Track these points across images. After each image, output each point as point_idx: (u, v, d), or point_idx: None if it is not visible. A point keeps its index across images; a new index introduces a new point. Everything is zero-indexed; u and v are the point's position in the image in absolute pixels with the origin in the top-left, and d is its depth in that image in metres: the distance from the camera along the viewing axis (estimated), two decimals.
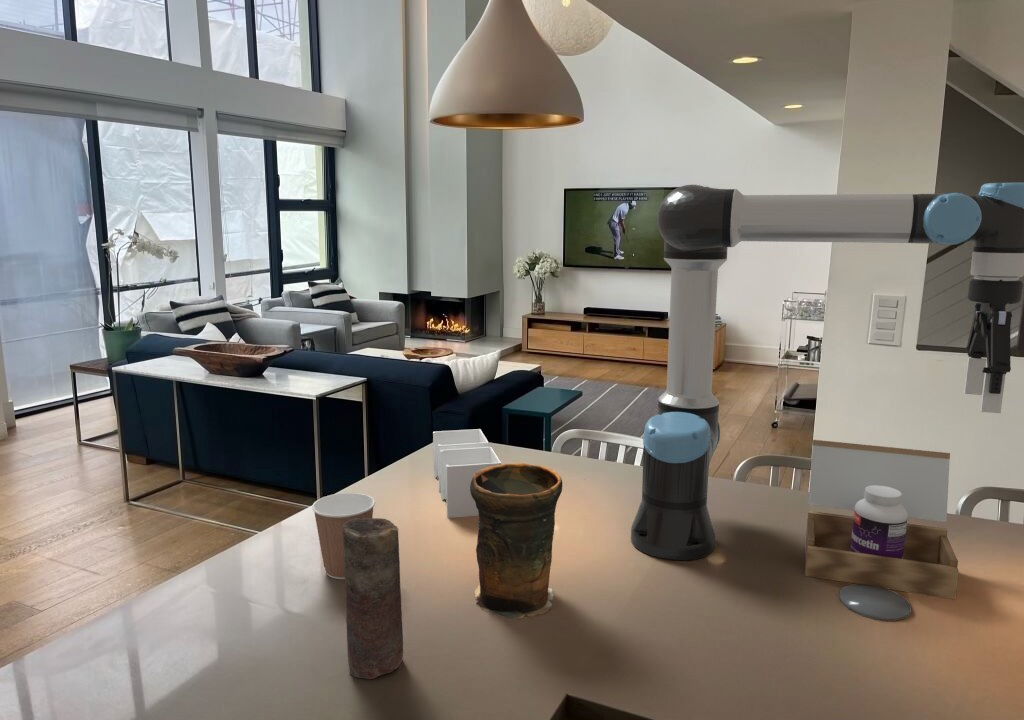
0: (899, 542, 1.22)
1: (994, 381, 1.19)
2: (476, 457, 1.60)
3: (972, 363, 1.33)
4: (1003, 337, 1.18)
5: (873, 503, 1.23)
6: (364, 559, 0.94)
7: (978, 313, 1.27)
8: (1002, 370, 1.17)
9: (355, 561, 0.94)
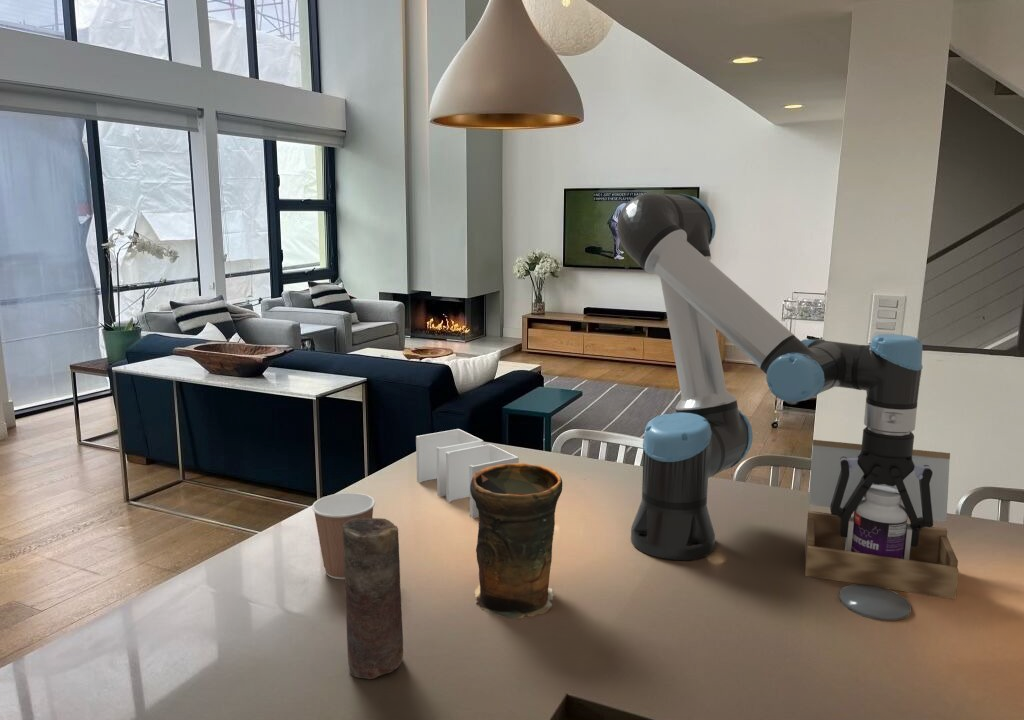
0: (899, 541, 1.22)
1: (840, 523, 1.28)
2: (478, 456, 1.61)
3: None
4: (838, 482, 1.27)
5: (873, 503, 1.23)
6: (364, 559, 0.94)
7: None
8: None
9: (355, 561, 0.94)
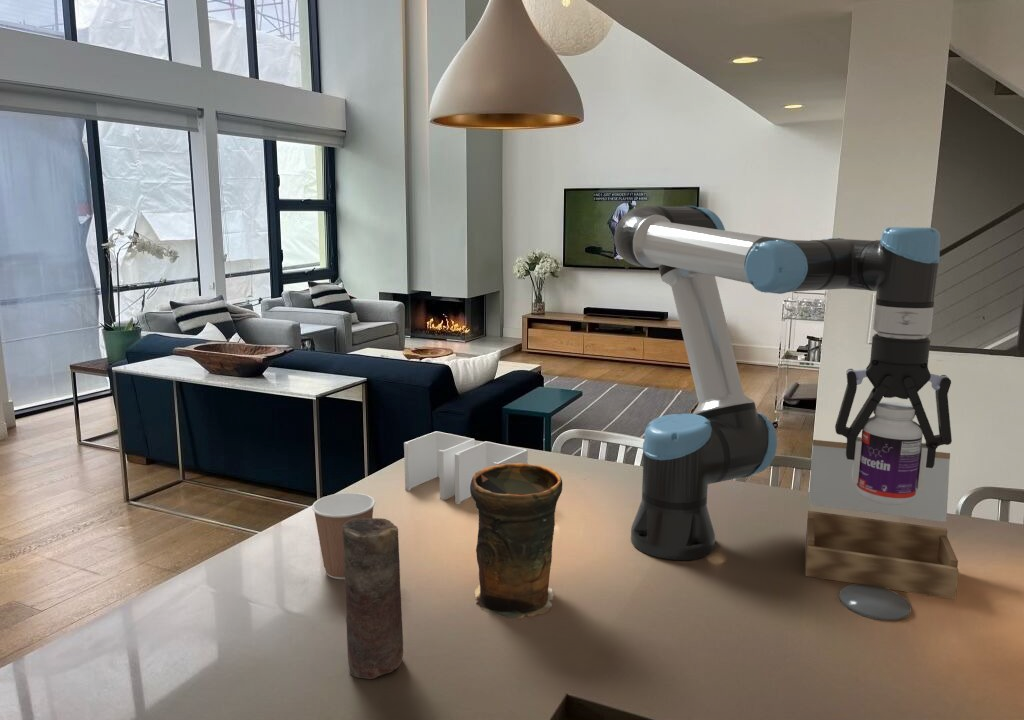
0: (913, 461, 1.09)
1: None
2: (478, 454, 1.62)
3: None
4: (844, 397, 1.13)
5: (884, 418, 1.10)
6: (364, 559, 0.94)
7: None
8: (836, 430, 1.14)
9: (355, 561, 0.94)
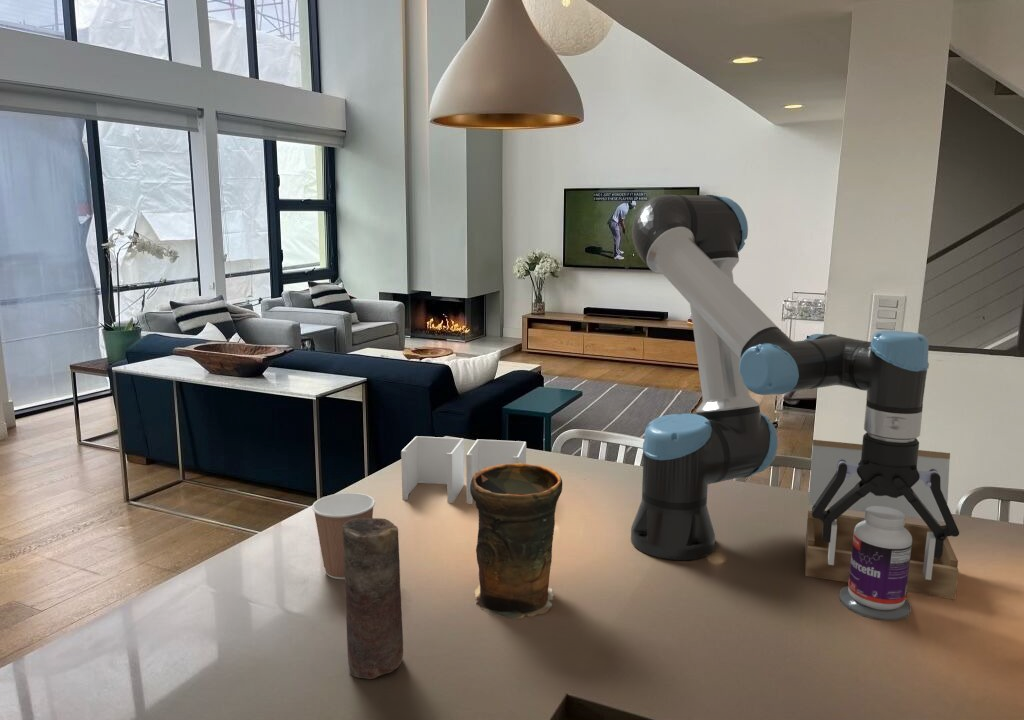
0: (903, 569, 1.12)
1: None
2: (475, 452, 1.63)
3: (927, 538, 1.13)
4: (829, 485, 1.16)
5: (874, 526, 1.13)
6: (364, 559, 0.94)
7: None
8: None
9: (355, 561, 0.94)
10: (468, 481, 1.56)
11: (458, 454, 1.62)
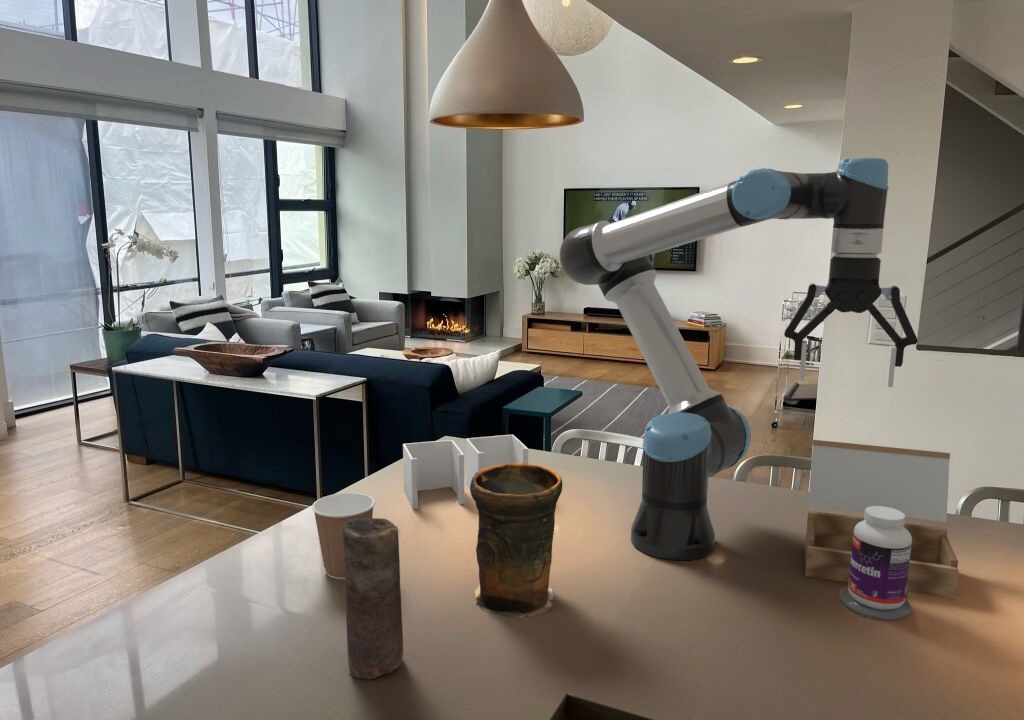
0: (902, 568, 1.12)
1: None
2: None
3: (889, 351, 1.24)
4: (800, 306, 1.27)
5: (874, 526, 1.13)
6: (364, 559, 0.94)
7: None
8: None
9: (355, 561, 0.94)
10: None
11: (457, 455, 1.61)
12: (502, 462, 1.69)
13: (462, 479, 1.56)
